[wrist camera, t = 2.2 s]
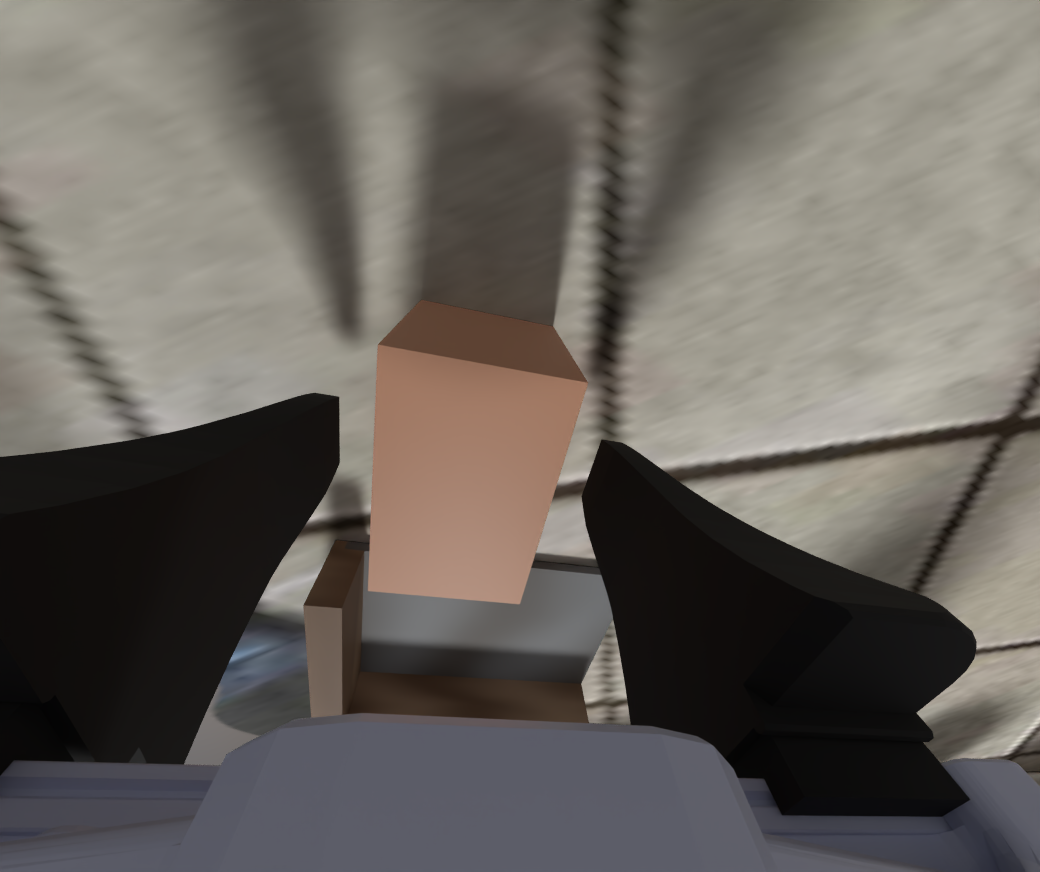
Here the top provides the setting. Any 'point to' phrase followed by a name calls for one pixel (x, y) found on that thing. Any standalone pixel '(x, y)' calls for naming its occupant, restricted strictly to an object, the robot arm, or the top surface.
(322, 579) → the corner walled tray
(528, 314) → the top surface
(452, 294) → the top surface
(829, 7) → the top surface
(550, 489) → the block
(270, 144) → the top surface
